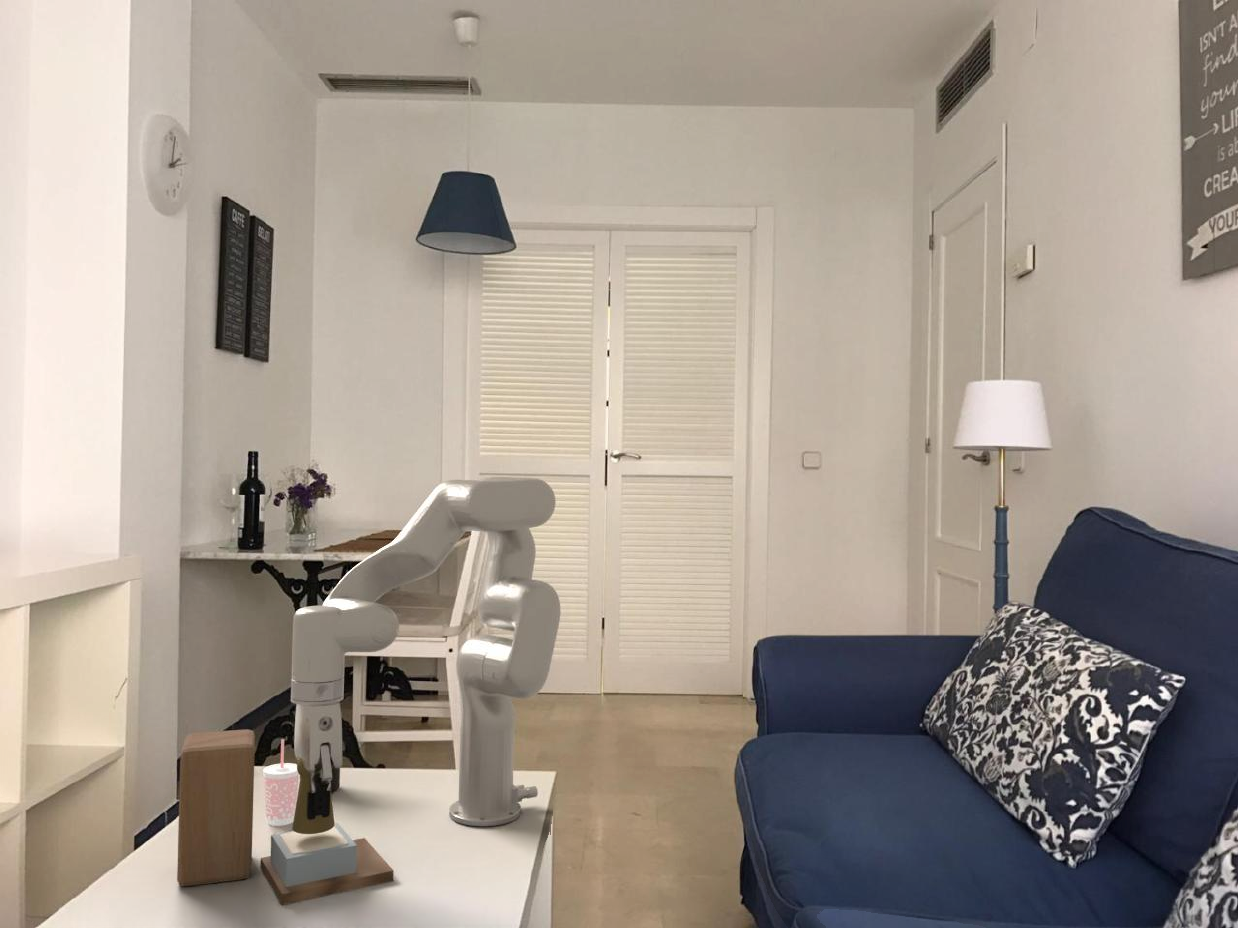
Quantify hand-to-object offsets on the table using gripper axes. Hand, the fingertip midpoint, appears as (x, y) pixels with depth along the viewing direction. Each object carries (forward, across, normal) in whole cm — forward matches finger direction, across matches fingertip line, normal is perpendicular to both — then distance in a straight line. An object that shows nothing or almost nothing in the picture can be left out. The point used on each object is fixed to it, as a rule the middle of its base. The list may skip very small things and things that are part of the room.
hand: (314, 811), depth 141 cm
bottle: (+10, +37, -11) cm, 40 cm away
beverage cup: (+10, +25, -1) cm, 27 cm away
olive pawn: (+2, 0, 0) cm, 2 cm away
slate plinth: (+8, 0, 0) cm, 8 cm away
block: (+10, +9, +12) cm, 18 cm away
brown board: (+10, 0, -2) cm, 10 cm away
